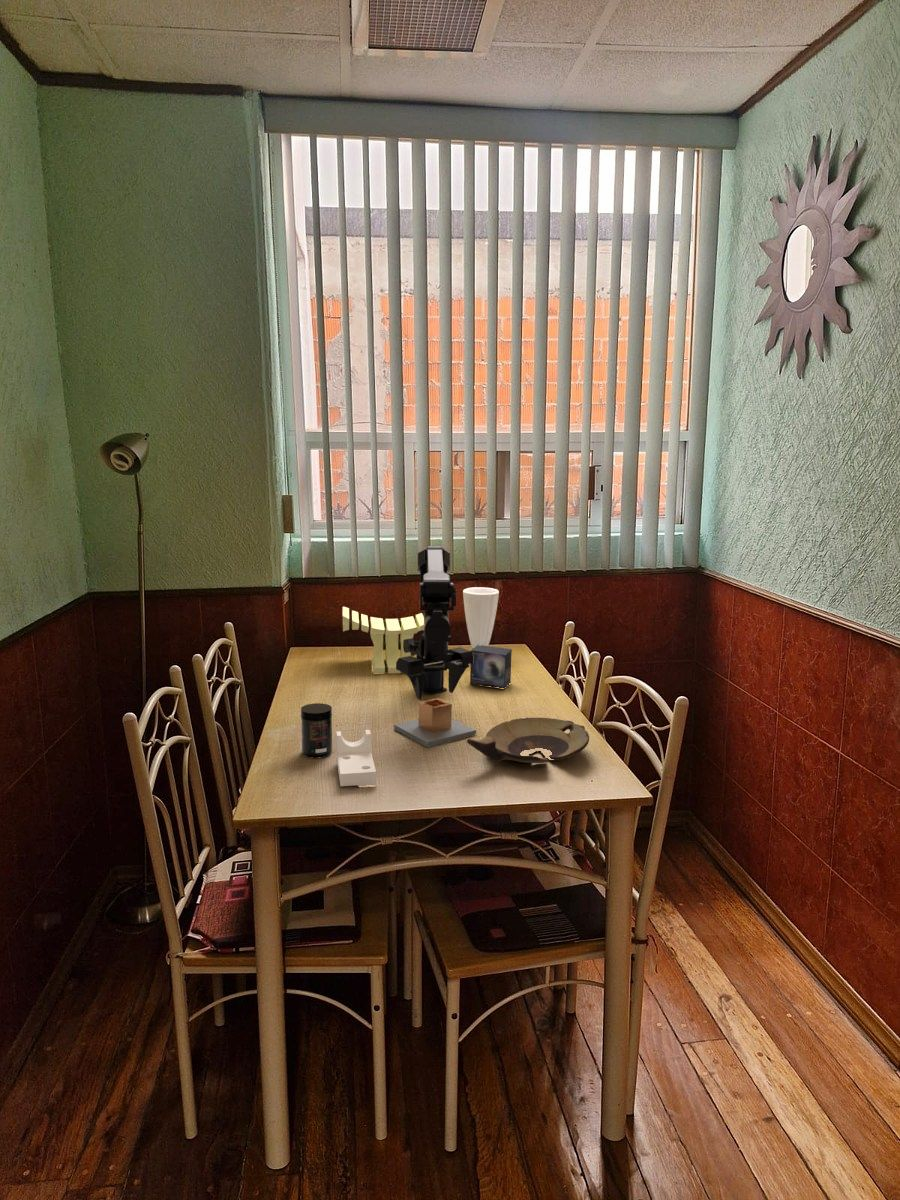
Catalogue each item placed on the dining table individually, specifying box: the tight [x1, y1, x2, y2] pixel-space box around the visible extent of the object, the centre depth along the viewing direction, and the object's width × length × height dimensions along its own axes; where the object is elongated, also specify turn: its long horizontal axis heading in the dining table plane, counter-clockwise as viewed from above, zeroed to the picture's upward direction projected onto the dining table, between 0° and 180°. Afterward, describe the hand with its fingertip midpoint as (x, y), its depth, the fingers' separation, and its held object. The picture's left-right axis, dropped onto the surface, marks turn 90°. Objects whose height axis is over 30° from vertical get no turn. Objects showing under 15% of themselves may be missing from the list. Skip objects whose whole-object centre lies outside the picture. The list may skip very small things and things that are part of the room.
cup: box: [462, 586, 500, 650], centre depth 257 cm, size 12×12×22 cm
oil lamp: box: [466, 717, 590, 764], centre depth 178 cm, size 22×30×8 cm
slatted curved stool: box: [342, 606, 424, 674], centre depth 245 cm, size 30×16×18 cm, turn 97°
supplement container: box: [300, 702, 333, 759], centre depth 178 cm, size 7×7×10 cm
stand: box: [393, 718, 477, 748], centre depth 192 cm, size 14×14×5 cm
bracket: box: [335, 729, 377, 787], centre depth 167 cm, size 13×7×8 cm, turn 11°
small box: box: [469, 645, 513, 688], centre depth 229 cm, size 11×6×10 cm, turn 68°
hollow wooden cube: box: [418, 697, 453, 733], centre depth 192 cm, size 6×6×6 cm
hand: (435, 695), depth 191 cm, fingers open, 9 cm apart
